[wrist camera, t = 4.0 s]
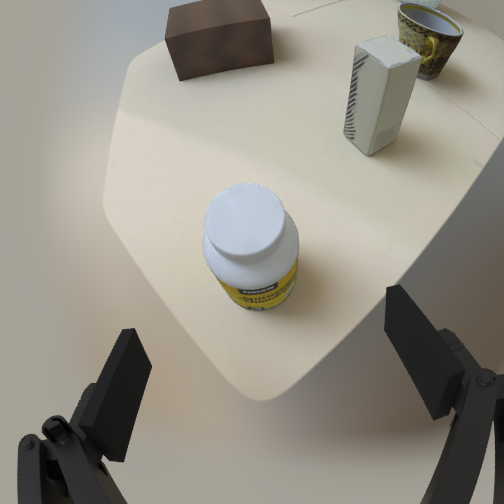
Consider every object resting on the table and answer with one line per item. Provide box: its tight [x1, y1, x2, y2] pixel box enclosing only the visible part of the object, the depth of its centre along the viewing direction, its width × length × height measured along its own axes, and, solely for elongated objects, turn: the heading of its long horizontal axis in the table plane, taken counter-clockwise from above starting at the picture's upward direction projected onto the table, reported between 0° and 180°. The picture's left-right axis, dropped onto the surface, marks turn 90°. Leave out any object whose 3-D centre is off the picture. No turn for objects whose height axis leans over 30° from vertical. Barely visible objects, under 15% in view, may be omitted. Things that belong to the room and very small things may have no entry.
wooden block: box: [165, 0, 274, 81], centre depth 39 cm, size 14×12×8 cm
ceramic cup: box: [398, 3, 463, 80], centre depth 33 cm, size 13×10×10 cm
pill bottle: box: [203, 183, 299, 311], centre depth 23 cm, size 6×6×12 cm
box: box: [343, 35, 422, 156], centre depth 27 cm, size 5×4×13 cm
